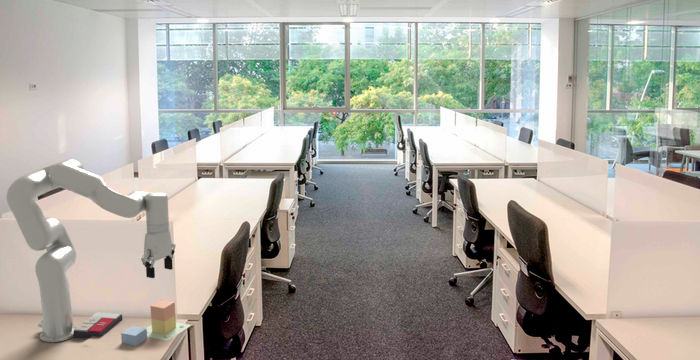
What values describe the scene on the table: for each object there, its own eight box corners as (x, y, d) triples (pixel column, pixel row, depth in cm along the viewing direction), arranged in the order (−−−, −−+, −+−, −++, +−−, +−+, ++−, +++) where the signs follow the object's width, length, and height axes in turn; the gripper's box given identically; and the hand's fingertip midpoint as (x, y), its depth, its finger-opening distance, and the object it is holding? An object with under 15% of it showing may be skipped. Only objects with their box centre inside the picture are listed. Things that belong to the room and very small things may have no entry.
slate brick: (122, 346, 210) (121, 333, 209) (133, 339, 216) (132, 326, 215) (136, 349, 208) (135, 335, 207) (147, 341, 214) (146, 328, 213)
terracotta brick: (151, 318, 218) (150, 305, 217) (162, 312, 223) (161, 299, 222) (164, 321, 216) (163, 308, 215) (175, 315, 221) (174, 302, 220)
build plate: (135, 337, 217) (135, 333, 217) (161, 321, 230) (161, 318, 229) (167, 344, 212) (167, 340, 211) (191, 328, 224) (191, 324, 224)
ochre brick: (152, 331, 219) (151, 318, 218) (162, 324, 224) (162, 312, 223) (165, 334, 217) (164, 321, 216) (176, 327, 222) (175, 315, 221)
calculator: (72, 329, 215) (95, 310, 230) (73, 340, 217) (96, 320, 231) (100, 331, 214) (122, 312, 228) (102, 342, 215) (123, 322, 229)
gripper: (165, 220, 222) (166, 264, 225) (132, 232, 206) (134, 279, 209) (181, 222, 219) (183, 267, 223) (149, 235, 203) (152, 282, 207)
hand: (159, 273), depth 216 cm, fingers open, 9 cm apart
